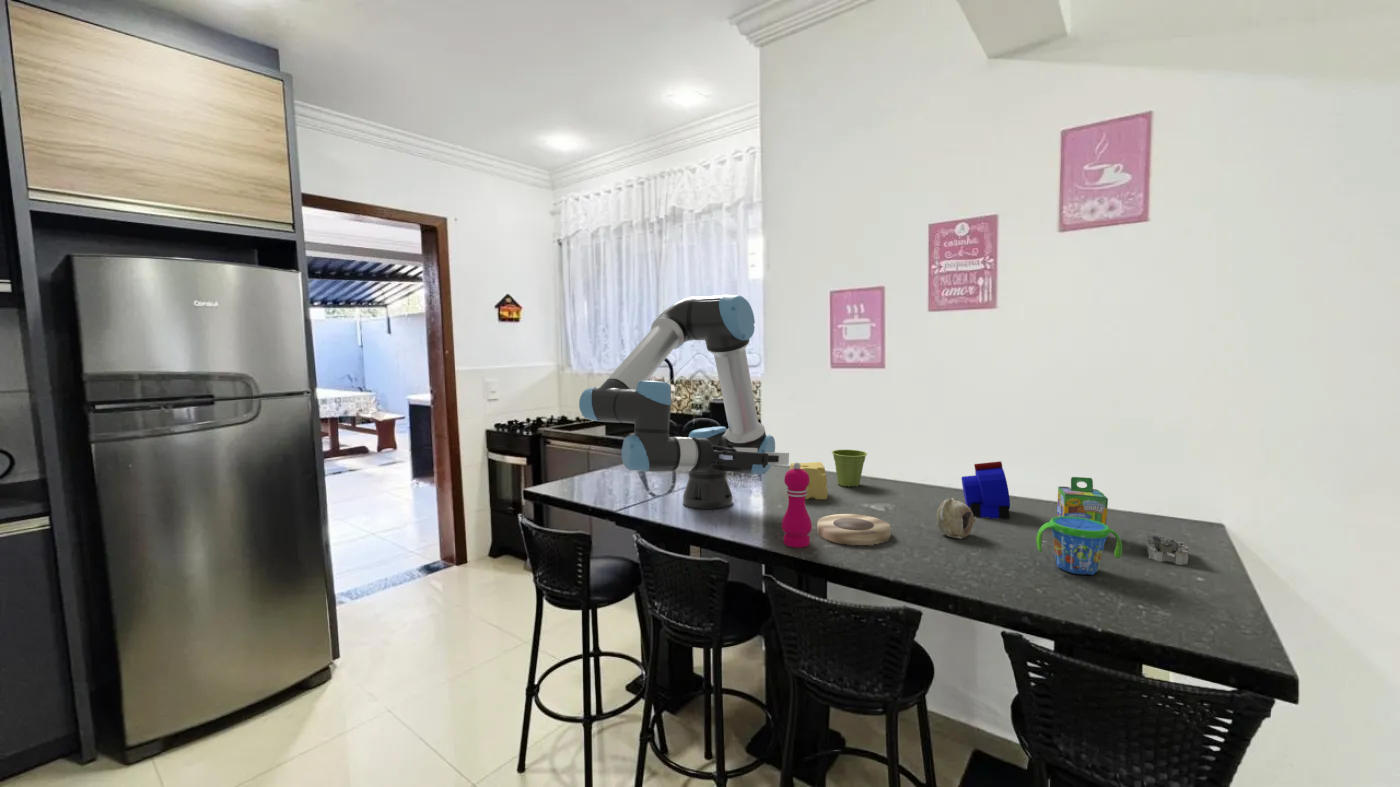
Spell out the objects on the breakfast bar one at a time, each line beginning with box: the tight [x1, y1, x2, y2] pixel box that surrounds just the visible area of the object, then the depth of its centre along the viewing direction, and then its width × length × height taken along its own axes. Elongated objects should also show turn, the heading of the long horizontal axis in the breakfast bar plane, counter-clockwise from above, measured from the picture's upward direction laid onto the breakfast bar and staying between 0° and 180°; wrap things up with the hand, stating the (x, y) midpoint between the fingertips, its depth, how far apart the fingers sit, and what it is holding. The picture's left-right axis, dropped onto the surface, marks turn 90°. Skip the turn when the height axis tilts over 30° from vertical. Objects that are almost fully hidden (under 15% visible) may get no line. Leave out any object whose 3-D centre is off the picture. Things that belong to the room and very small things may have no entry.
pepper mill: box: [781, 461, 813, 549], centre depth 142 cm, size 7×7×20 cm
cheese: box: [788, 461, 828, 500], centre depth 188 cm, size 10×11×10 cm
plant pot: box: [831, 449, 868, 488], centre depth 201 cm, size 12×12×11 cm
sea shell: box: [935, 497, 977, 540], centre depth 148 cm, size 9×8×10 cm
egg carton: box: [1145, 533, 1189, 566], centre depth 133 cm, size 11×8×4 cm
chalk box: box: [1056, 476, 1109, 525], centre depth 146 cm, size 9×9×15 cm
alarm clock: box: [961, 461, 1011, 520], centre depth 168 cm, size 12×12×15 cm
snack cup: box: [1035, 516, 1123, 576], centre depth 125 cm, size 16×10×10 cm
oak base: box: [816, 513, 891, 546], centre depth 150 cm, size 18×18×3 cm
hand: (771, 456), depth 140 cm, fingers open, 13 cm apart
